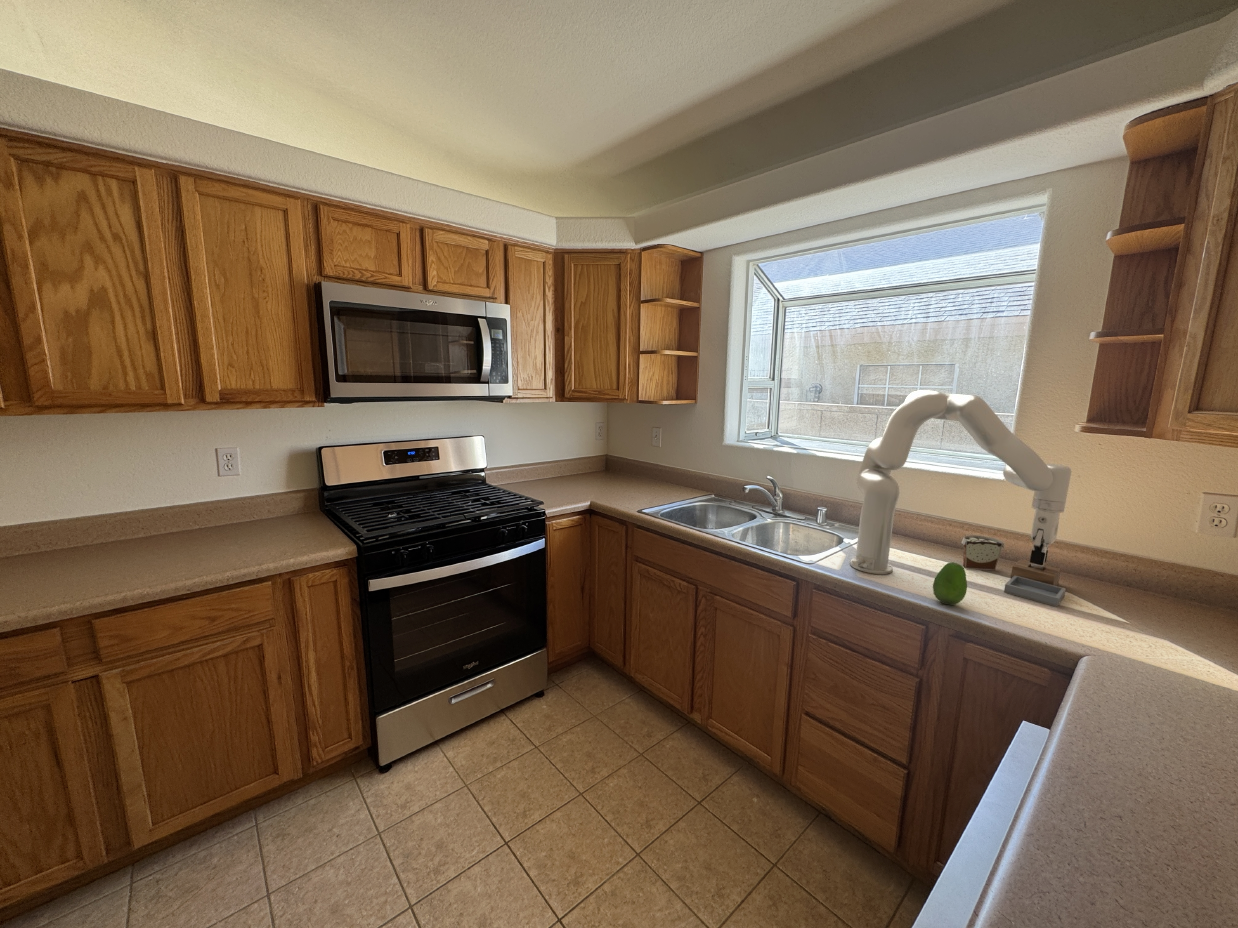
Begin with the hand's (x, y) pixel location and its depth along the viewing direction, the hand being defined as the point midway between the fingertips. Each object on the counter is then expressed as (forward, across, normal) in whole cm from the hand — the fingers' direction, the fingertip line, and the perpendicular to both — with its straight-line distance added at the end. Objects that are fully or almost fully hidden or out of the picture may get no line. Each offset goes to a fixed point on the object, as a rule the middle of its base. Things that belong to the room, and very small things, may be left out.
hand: (1037, 561), depth 153 cm
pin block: (+7, 0, 0) cm, 7 cm away
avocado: (+7, -40, +12) cm, 42 cm away
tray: (+7, -12, -2) cm, 13 cm away
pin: (+7, 0, 0) cm, 7 cm away
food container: (+7, +2, +16) cm, 18 cm away
